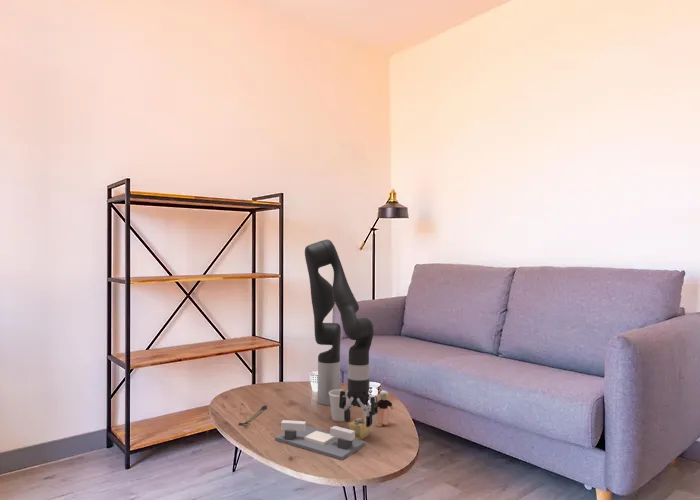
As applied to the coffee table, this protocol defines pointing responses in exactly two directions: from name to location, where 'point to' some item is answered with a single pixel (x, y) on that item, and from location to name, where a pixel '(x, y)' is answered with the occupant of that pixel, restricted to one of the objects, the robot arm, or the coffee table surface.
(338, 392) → the dixie cup
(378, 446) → the coffee table surface
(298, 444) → the lever control panel
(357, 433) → the yellow plus-sign block
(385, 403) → the grandmother figurine
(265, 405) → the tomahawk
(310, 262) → the robot arm
